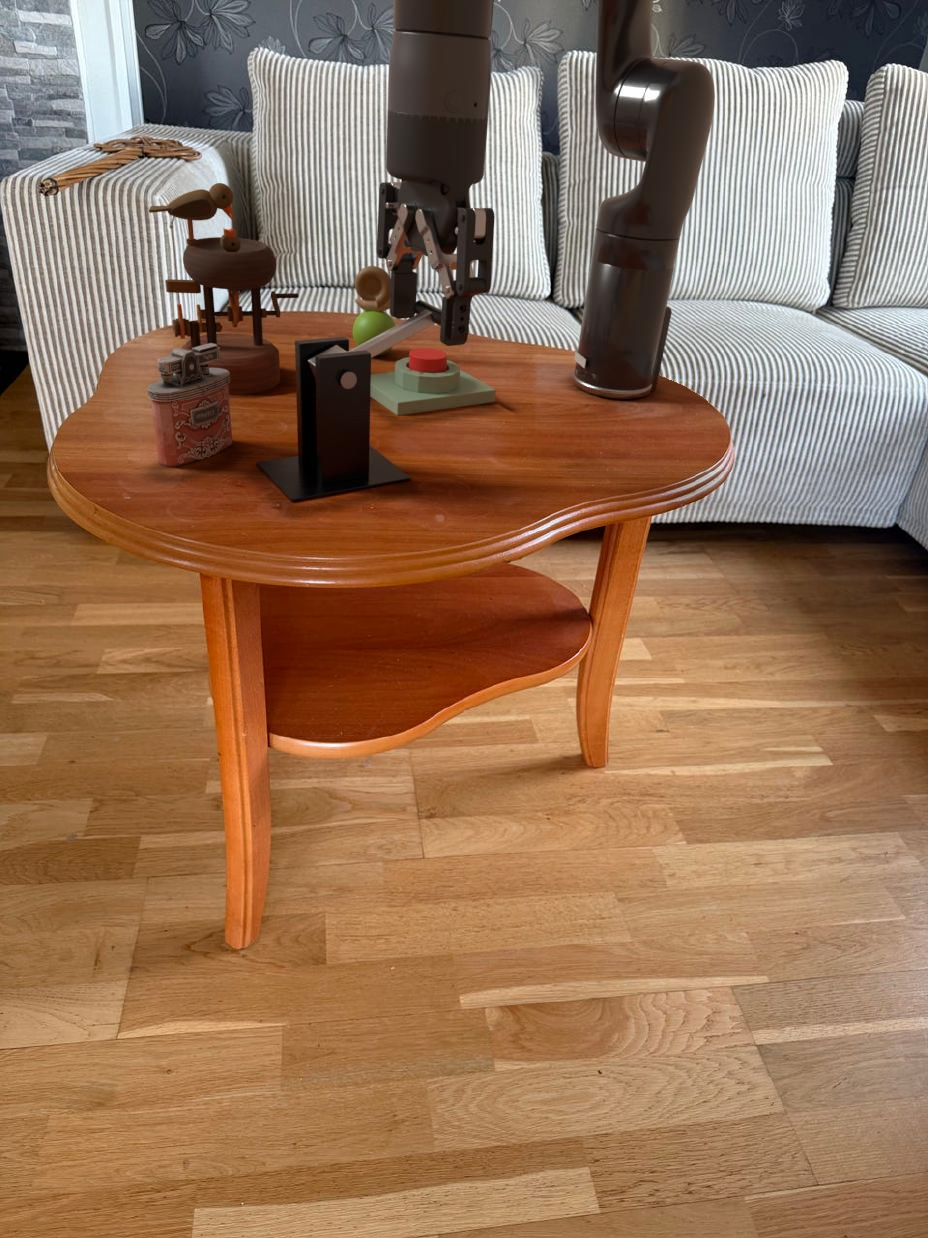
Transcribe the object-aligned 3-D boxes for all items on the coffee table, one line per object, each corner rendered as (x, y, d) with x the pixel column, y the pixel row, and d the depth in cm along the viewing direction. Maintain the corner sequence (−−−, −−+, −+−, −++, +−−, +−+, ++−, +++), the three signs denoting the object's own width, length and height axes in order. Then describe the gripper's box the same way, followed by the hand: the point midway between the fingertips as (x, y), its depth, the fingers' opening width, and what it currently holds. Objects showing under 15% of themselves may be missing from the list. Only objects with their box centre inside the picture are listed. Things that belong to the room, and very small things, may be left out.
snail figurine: (402, 363, 106) (406, 259, 99) (349, 359, 106) (350, 254, 99) (405, 350, 110) (409, 249, 104) (355, 346, 110) (356, 245, 104)
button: (434, 362, 95) (435, 346, 94) (453, 373, 93) (454, 357, 92) (402, 365, 93) (402, 349, 92) (420, 377, 91) (421, 360, 90)
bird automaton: (185, 402, 89) (158, 184, 79) (158, 378, 97) (130, 178, 88) (323, 387, 96) (314, 185, 87) (287, 365, 104) (275, 179, 95)
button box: (451, 383, 101) (453, 349, 99) (494, 409, 95) (497, 373, 93) (357, 395, 95) (358, 358, 93) (397, 423, 89) (398, 385, 87)
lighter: (176, 481, 74) (163, 364, 68) (148, 470, 75) (133, 354, 70) (244, 454, 80) (236, 344, 74) (217, 444, 81) (208, 335, 75)
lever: (428, 316, 76) (421, 290, 74) (458, 332, 72) (451, 305, 71) (310, 380, 73) (300, 354, 71) (336, 399, 69) (325, 373, 68)
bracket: (369, 456, 81) (371, 328, 75) (410, 490, 76) (417, 355, 69) (256, 474, 76) (248, 338, 70) (292, 512, 71) (287, 368, 64)
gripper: (535, 120, 61) (511, 350, 70) (433, 101, 71) (423, 306, 80) (444, 115, 58) (430, 359, 67) (350, 97, 68) (349, 311, 76)
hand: (426, 330), depth 73 cm, fingers open, 8 cm apart
